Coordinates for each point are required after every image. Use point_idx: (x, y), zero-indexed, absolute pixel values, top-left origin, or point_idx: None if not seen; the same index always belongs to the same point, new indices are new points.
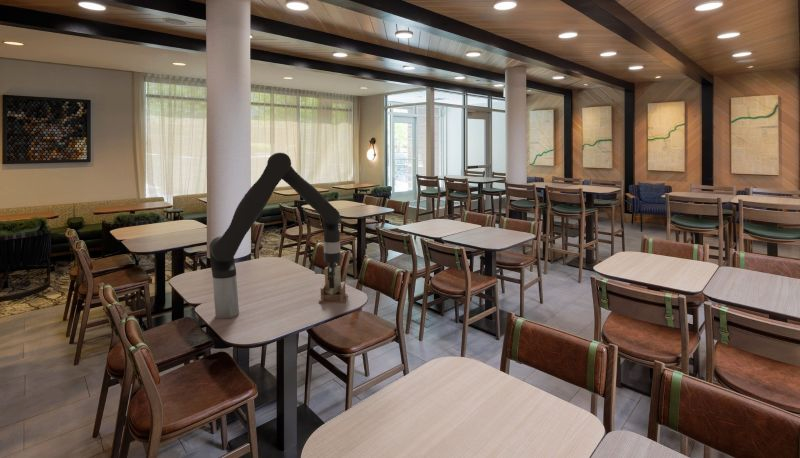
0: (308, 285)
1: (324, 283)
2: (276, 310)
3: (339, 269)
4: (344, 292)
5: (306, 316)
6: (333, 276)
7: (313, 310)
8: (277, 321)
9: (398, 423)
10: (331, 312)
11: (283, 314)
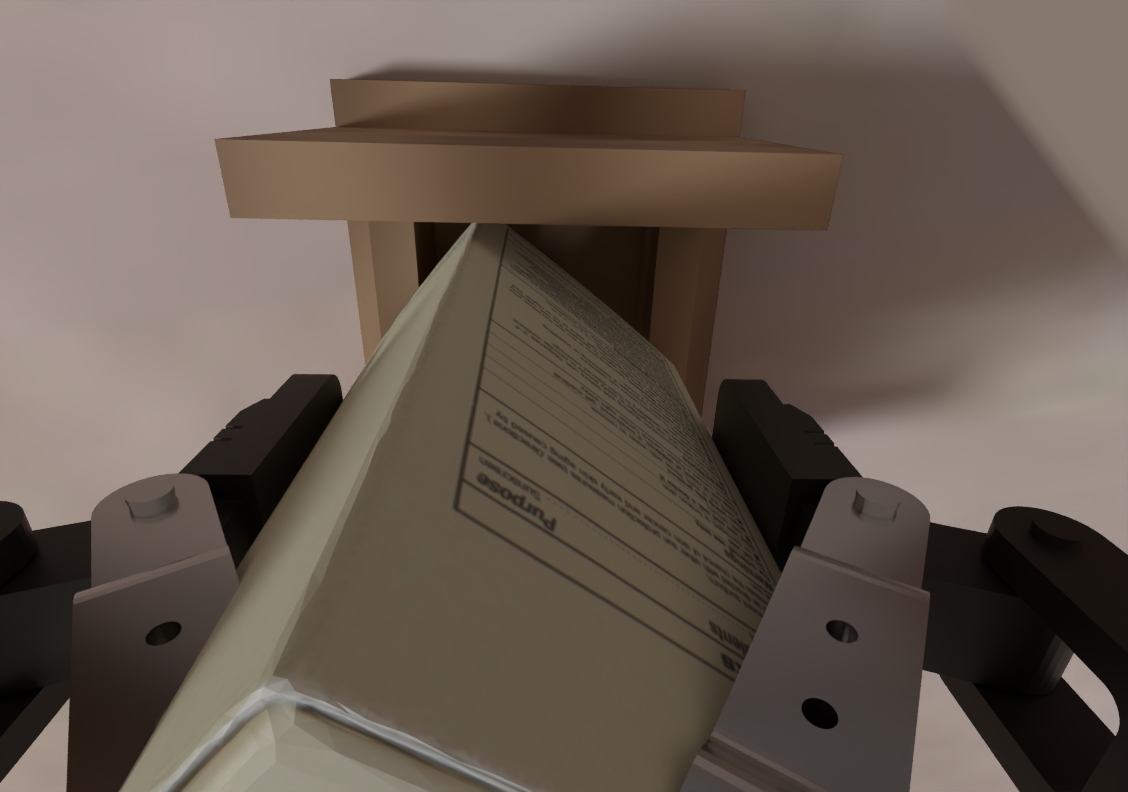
0: None
1: None
2: None
3: (437, 540)
4: (453, 133)
5: None
6: (1112, 604)
7: (927, 500)
8: (1114, 732)
9: None
10: (1075, 271)
11: (956, 725)
